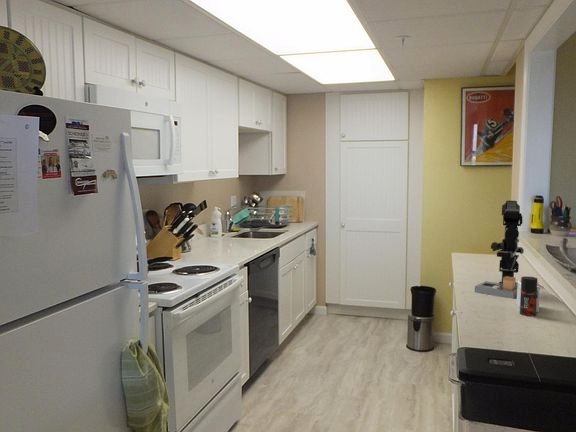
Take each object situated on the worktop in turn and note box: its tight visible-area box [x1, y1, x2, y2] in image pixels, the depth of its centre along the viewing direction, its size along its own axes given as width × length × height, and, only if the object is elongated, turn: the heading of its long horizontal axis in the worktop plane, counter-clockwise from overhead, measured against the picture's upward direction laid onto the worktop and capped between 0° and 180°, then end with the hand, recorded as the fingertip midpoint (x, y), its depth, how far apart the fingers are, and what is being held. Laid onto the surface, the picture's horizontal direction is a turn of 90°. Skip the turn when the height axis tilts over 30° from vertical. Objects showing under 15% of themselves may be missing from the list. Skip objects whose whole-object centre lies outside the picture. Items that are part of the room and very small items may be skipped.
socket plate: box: [474, 280, 517, 299], centre depth 245 cm, size 14×18×4 cm
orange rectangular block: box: [503, 276, 516, 290], centre depth 242 cm, size 4×4×8 cm
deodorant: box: [519, 276, 538, 317], centre depth 208 cm, size 6×6×15 cm
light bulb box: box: [516, 280, 541, 313], centre depth 217 cm, size 11×7×11 cm, turn 168°
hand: (509, 270), depth 241 cm, fingers closed
